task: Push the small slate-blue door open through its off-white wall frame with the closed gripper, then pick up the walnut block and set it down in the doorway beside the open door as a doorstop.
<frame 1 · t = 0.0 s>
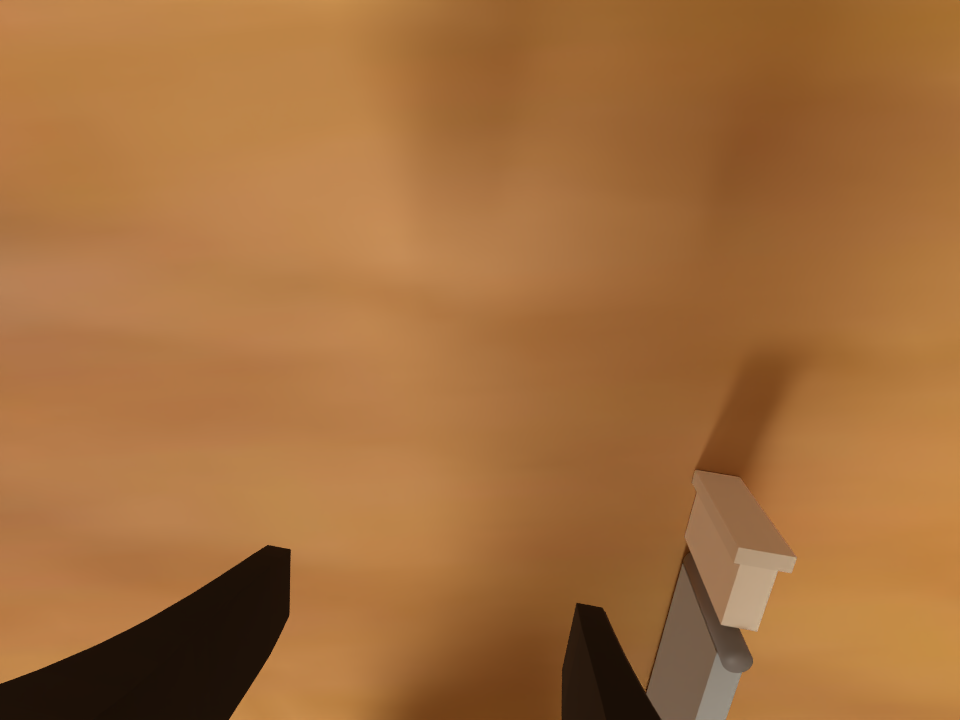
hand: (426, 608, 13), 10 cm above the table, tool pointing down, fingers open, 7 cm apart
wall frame: (663, 664, 25), on the table
door: (697, 710, 22), point 3 cm above the table, hinge at 0.0°
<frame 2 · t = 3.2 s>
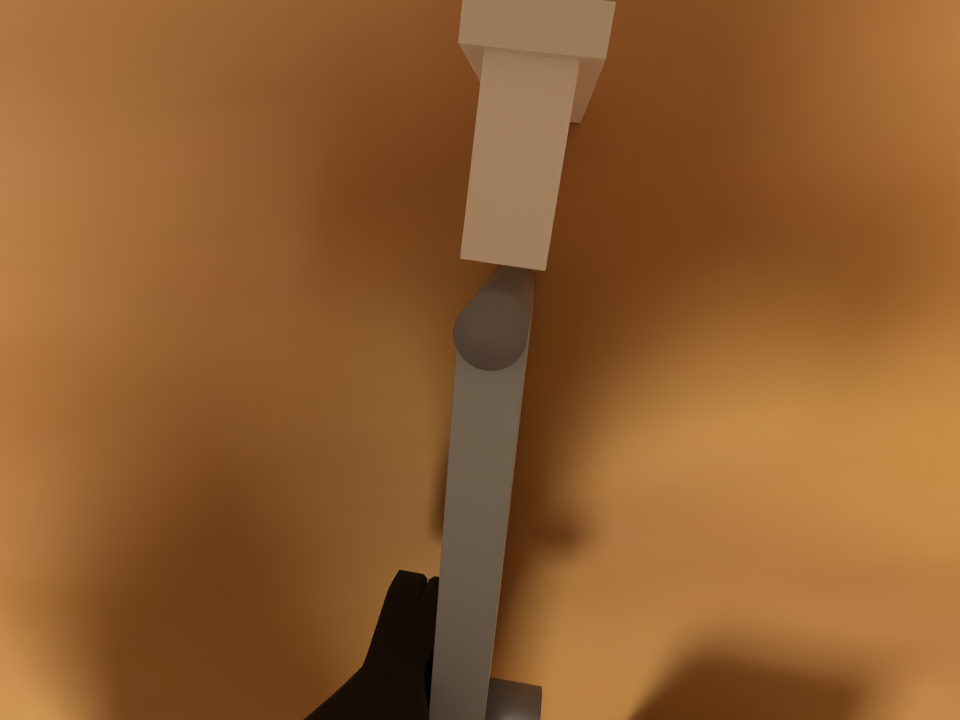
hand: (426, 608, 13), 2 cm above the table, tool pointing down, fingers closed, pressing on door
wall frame: (481, 502, 14), on the table
door: (509, 547, 11), point 3 cm above the table, hinge at 2.5°, touching gripper
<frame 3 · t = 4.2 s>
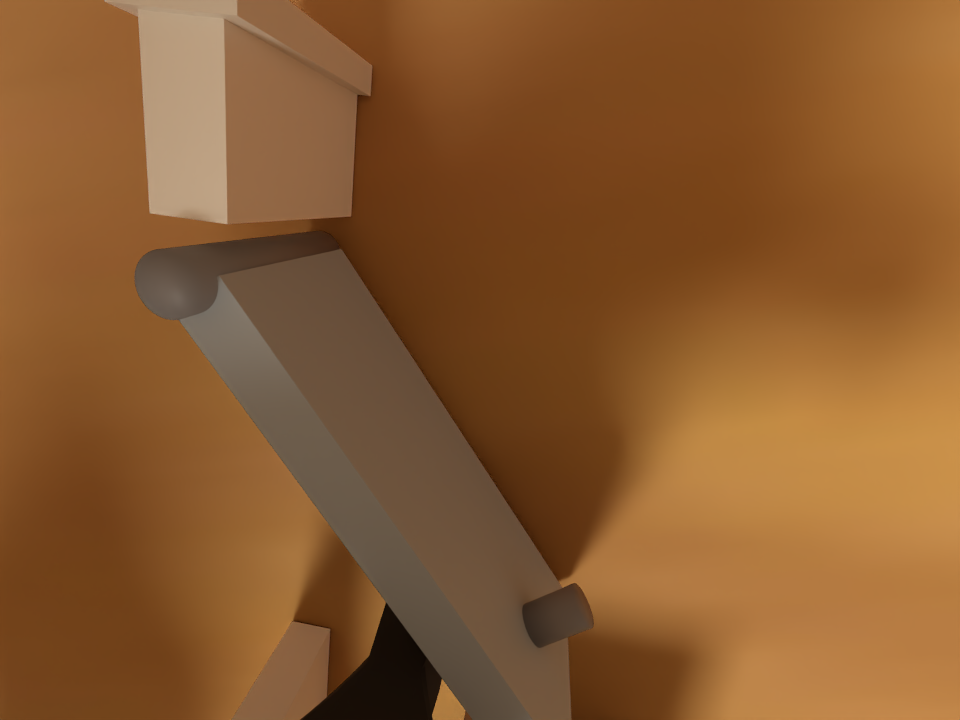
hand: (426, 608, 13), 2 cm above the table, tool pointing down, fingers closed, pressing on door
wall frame: (316, 472, 14), on the table
door: (436, 470, 11), point 3 cm above the table, hinge at 39.0°, touching gripper
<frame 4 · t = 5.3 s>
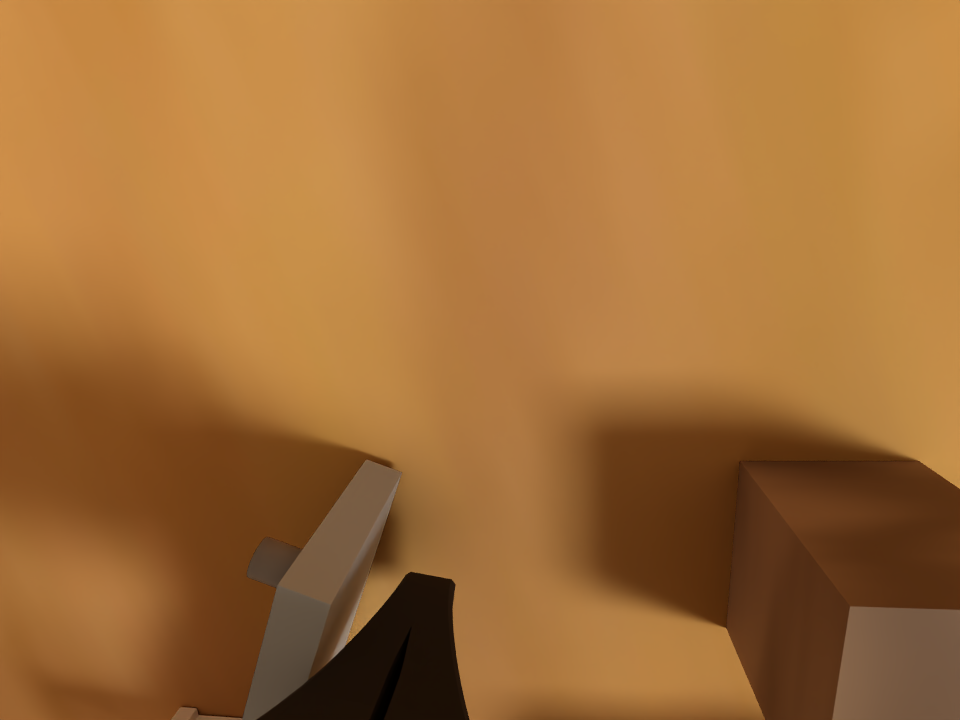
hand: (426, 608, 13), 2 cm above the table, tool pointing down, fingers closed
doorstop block: (814, 548, 13), on the table
door: (270, 698, 13), point 3 cm above the table, hinge at 67.9°, touching gripper
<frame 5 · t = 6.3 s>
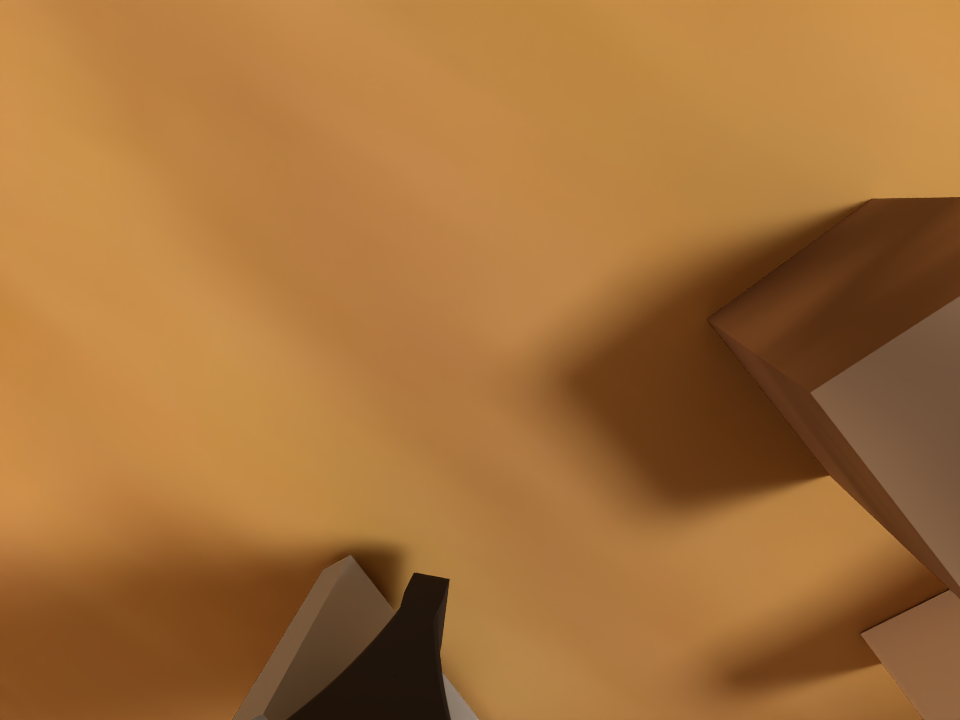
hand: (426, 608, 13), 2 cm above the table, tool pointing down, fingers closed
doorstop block: (847, 346, 12), on the table
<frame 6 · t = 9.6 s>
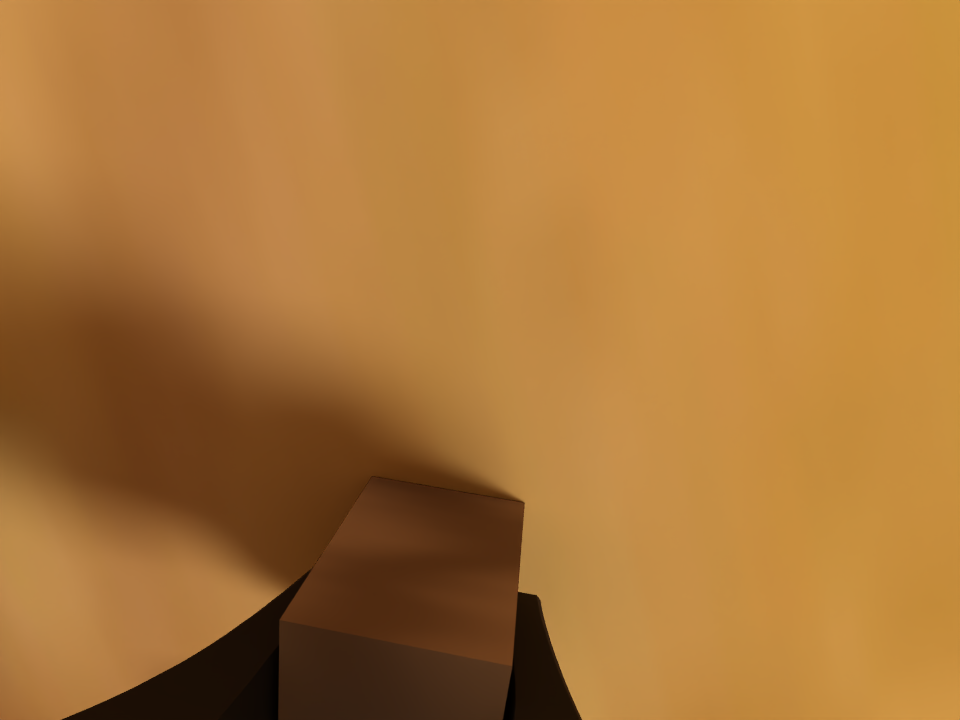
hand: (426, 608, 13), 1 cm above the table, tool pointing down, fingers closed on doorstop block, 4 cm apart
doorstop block: (437, 570, 14), on the table, touching gripper
when the fingers open (3 cm above the table, at t = 12.7 s): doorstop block stays where it is, on the table.
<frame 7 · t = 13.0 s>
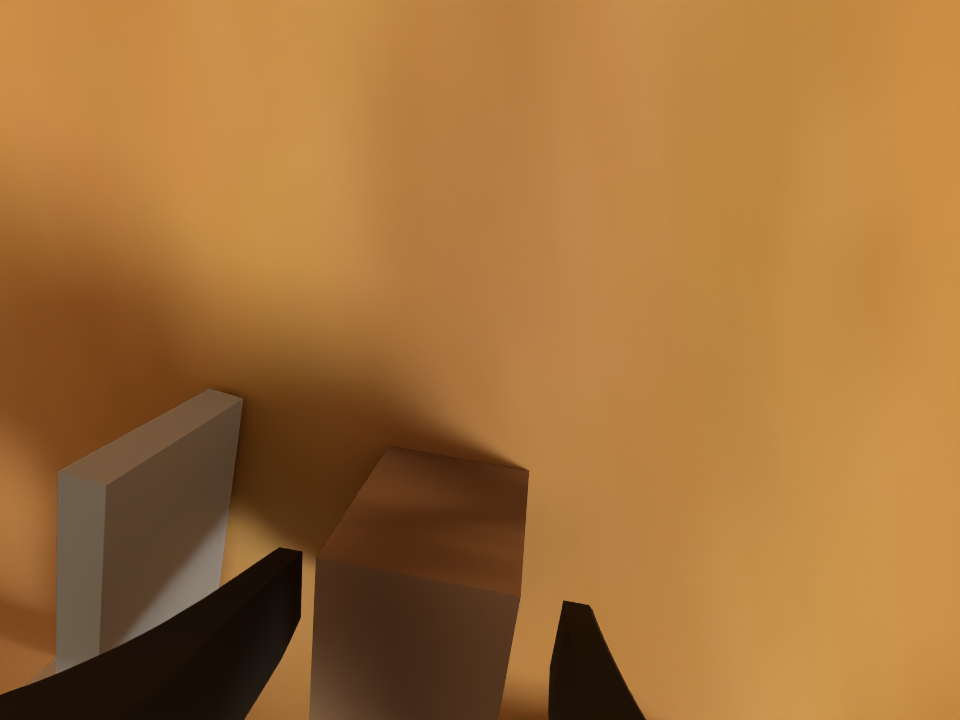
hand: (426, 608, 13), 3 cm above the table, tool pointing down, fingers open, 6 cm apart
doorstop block: (448, 533, 16), on the table
door: (125, 613, 14), point 3 cm above the table, hinge at 82.5°
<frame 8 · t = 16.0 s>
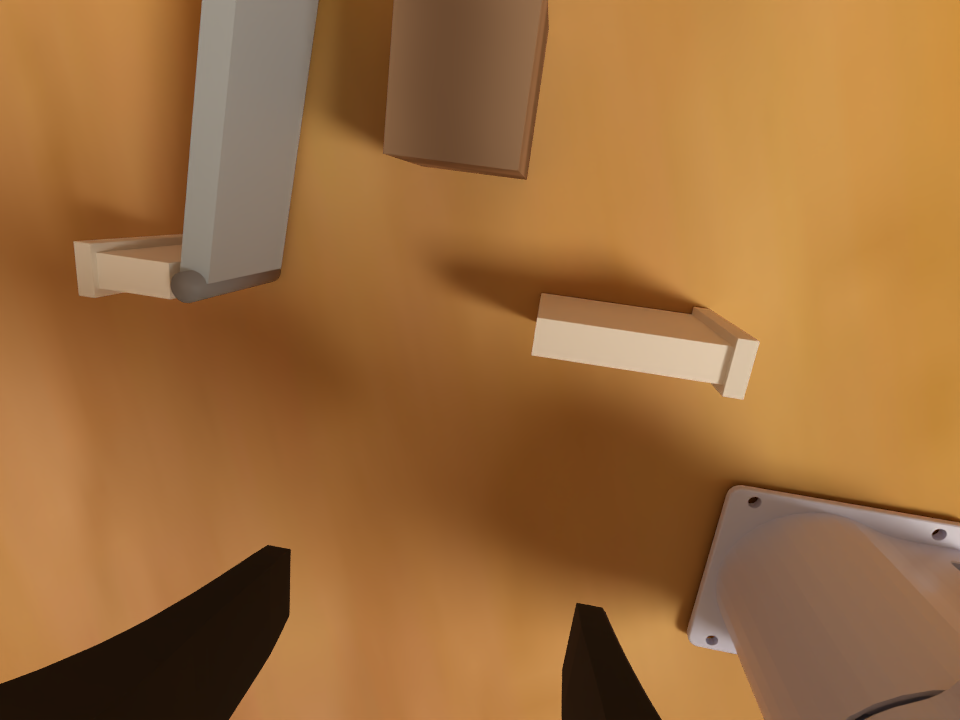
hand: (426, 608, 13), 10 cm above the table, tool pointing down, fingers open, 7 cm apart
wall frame: (412, 289, 22), on the table
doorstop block: (483, 101, 19), on the table
door: (232, 124, 18), point 3 cm above the table, hinge at 82.5°
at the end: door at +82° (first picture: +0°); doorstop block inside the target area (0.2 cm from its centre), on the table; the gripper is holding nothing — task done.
